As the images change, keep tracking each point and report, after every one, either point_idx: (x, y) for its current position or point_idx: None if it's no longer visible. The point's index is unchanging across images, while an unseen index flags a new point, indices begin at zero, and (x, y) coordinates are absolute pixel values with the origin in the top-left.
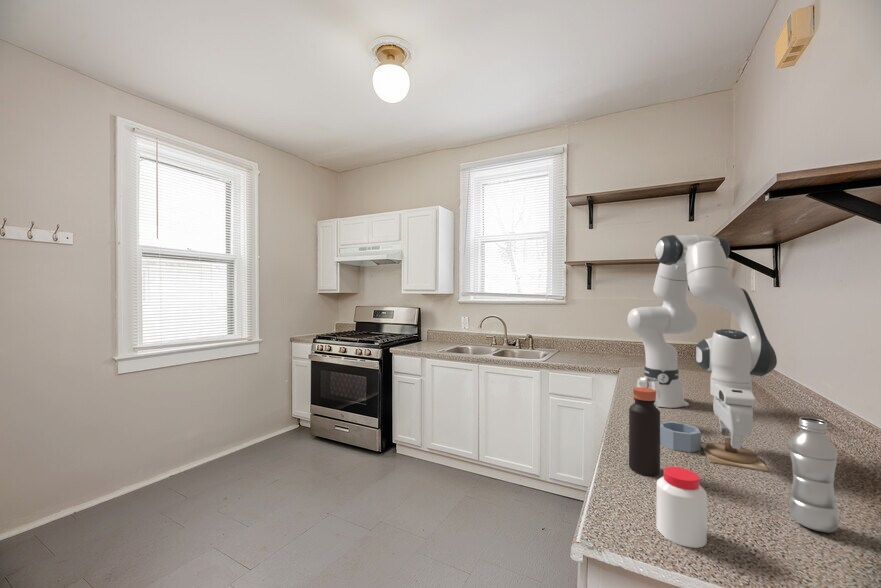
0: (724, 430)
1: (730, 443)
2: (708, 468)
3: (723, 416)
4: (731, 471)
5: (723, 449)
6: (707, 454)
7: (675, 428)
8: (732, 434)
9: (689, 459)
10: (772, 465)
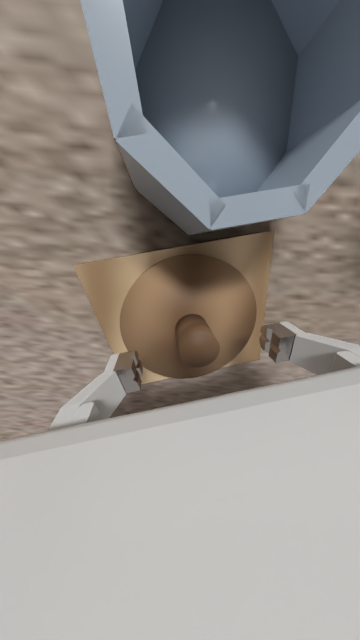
0: (274, 343)
1: (130, 355)
2: (3, 255)
3: (199, 494)
4: (51, 319)
5: (193, 310)
6: (139, 257)
7: (349, 38)
8: (57, 417)
9: (36, 178)
10: (178, 387)
